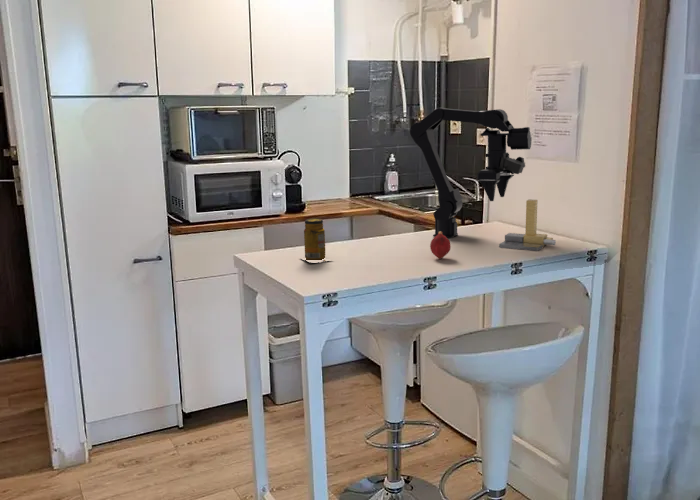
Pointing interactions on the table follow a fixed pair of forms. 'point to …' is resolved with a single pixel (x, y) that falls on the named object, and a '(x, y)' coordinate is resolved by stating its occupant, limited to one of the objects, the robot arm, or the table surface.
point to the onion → (440, 245)
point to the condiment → (314, 239)
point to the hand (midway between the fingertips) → (497, 199)
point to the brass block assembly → (533, 225)
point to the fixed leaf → (517, 242)
